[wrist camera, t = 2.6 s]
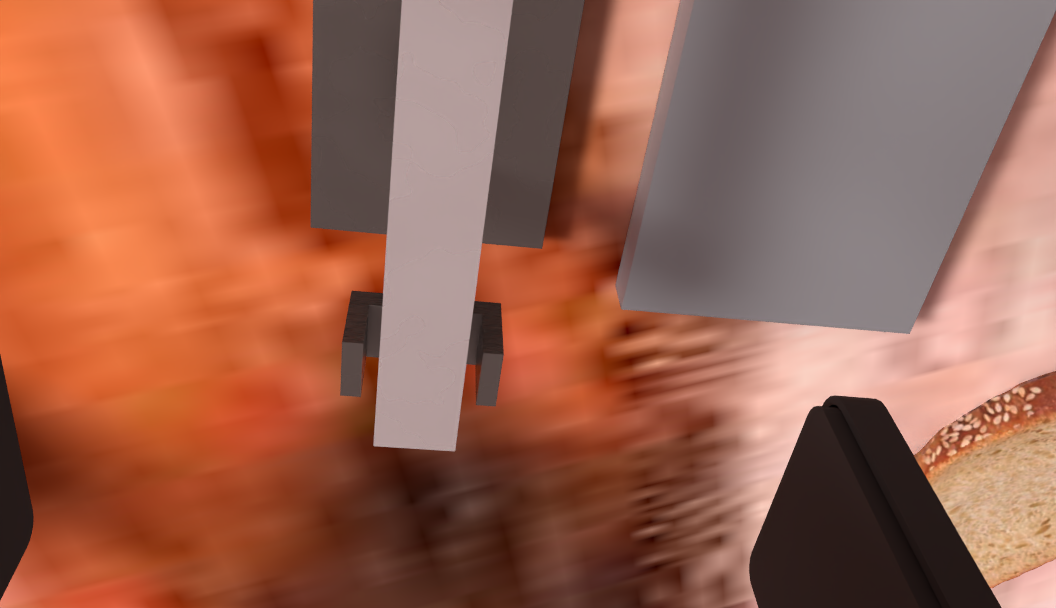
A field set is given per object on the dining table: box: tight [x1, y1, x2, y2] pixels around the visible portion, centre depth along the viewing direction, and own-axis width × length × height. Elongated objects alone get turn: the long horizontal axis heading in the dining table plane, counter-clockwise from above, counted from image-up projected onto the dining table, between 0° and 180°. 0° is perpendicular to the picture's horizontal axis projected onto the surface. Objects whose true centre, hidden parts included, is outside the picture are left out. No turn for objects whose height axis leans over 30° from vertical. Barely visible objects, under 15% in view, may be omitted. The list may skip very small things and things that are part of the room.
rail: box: [374, 0, 513, 451], centre depth 23 cm, size 2×24×2 cm, turn 172°
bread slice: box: [914, 371, 1056, 588], centre depth 52 cm, size 18×18×4 cm
